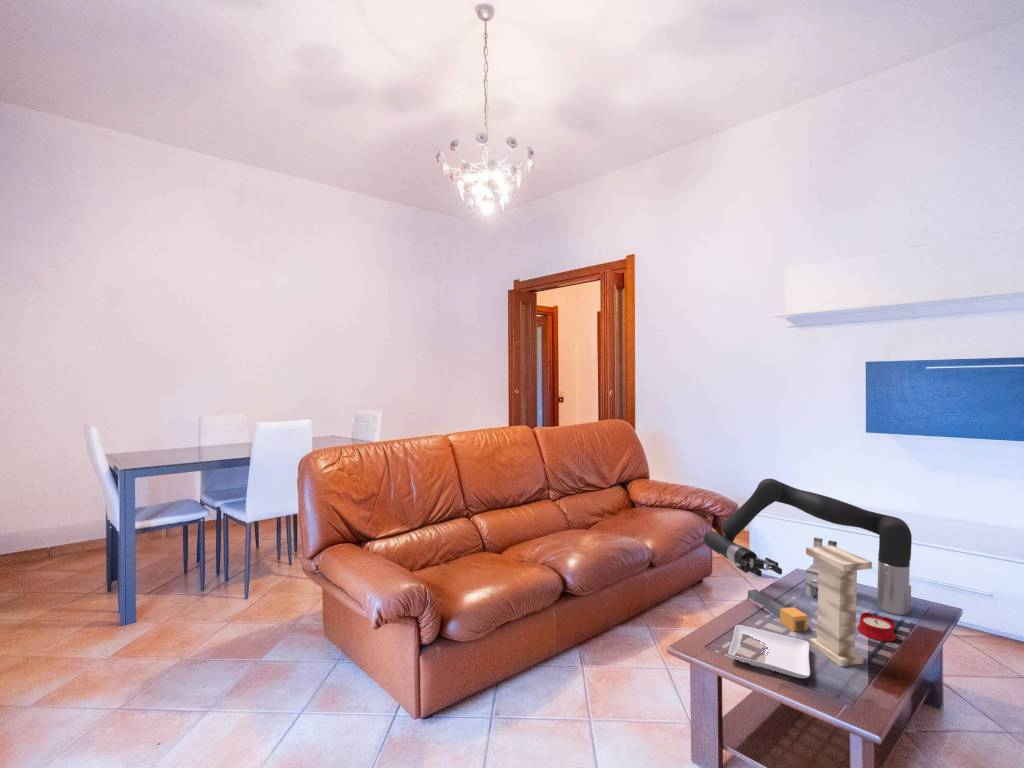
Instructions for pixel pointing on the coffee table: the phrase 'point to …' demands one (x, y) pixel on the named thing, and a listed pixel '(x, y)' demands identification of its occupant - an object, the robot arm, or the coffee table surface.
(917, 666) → the coffee table surface
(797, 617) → the orange-tipped gray rod
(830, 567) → the stand
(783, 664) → the salad plate
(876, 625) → the alarm clock
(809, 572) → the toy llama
